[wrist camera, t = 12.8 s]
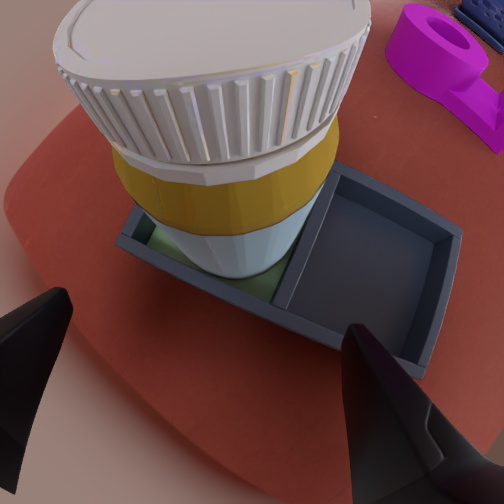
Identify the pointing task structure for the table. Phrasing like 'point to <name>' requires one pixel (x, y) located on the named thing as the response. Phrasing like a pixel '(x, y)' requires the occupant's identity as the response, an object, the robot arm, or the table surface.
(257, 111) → the bottle
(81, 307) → the table surface
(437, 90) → the tape dispenser
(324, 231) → the blue-grey divided tray
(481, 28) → the flower pot
